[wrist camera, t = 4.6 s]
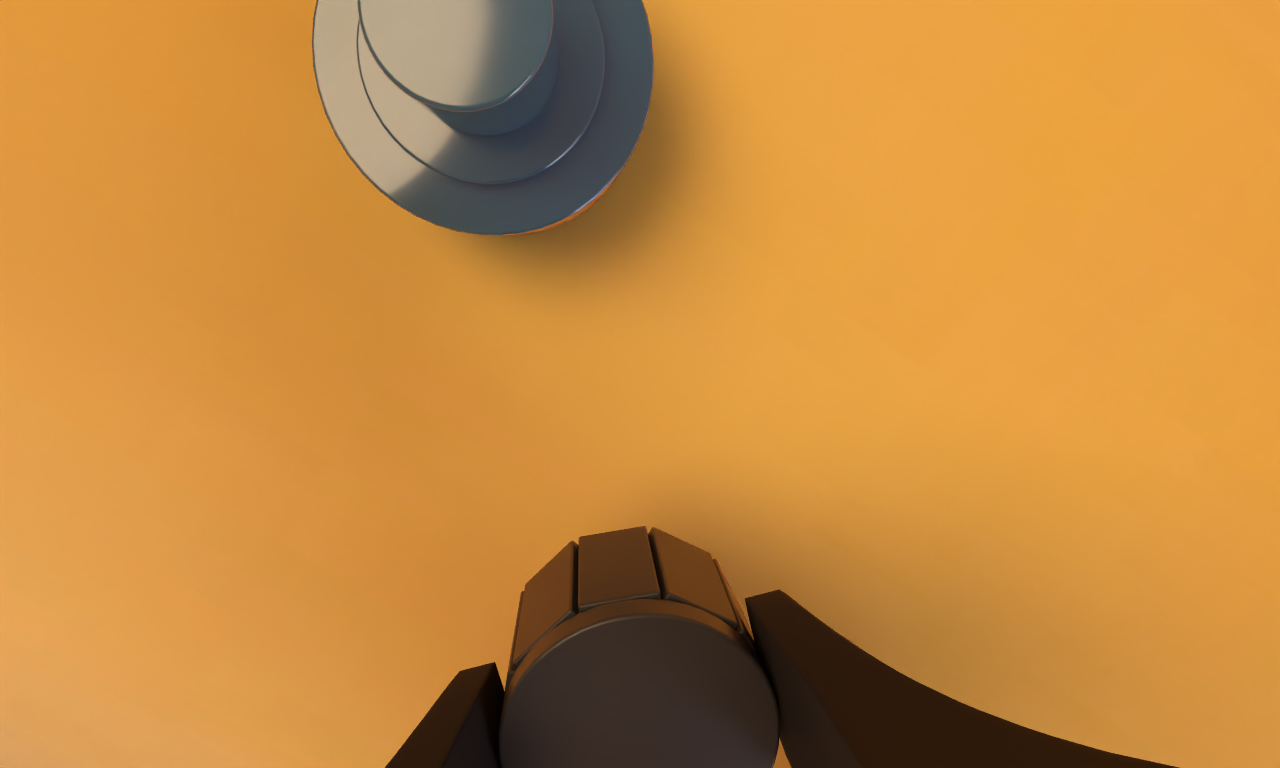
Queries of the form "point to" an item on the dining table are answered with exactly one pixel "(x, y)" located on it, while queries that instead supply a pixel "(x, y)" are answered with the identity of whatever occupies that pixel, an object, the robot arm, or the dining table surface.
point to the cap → (635, 663)
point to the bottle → (486, 103)
